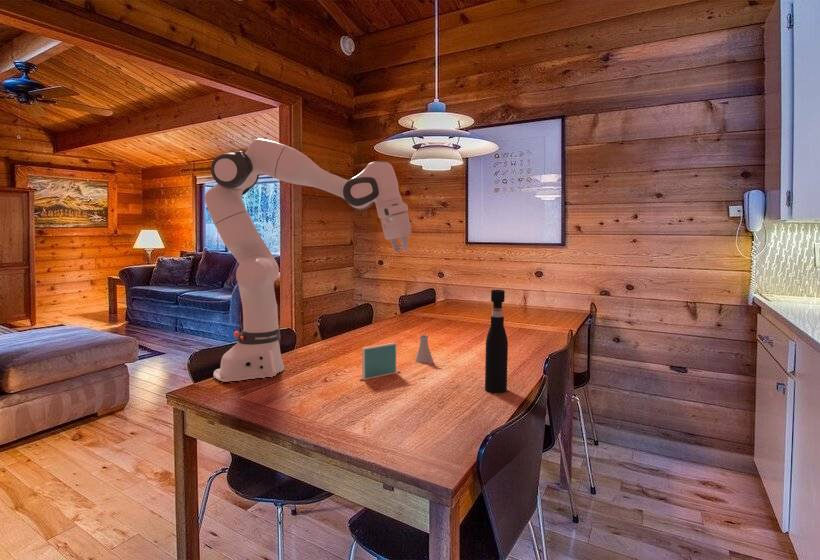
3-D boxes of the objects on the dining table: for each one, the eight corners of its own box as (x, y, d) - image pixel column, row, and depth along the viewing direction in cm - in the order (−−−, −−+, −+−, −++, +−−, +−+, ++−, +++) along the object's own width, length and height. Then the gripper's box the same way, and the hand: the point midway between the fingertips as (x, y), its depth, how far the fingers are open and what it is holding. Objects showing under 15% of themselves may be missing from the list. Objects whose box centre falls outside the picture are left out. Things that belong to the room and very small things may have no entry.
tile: (364, 380, 146) (363, 348, 145) (362, 379, 147) (361, 347, 146) (396, 373, 153) (396, 343, 152) (394, 372, 154) (394, 342, 153)
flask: (432, 367, 163) (432, 338, 162) (411, 365, 165) (411, 337, 164) (435, 361, 171) (435, 334, 169) (415, 360, 172) (415, 333, 171)
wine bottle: (502, 395, 136) (504, 292, 133) (481, 391, 140) (483, 291, 136) (509, 388, 142) (512, 290, 138) (489, 384, 145) (491, 288, 142)
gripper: (374, 215, 163) (384, 254, 165) (390, 209, 144) (401, 252, 145) (391, 211, 165) (401, 249, 167) (409, 204, 146) (420, 247, 147)
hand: (401, 251), depth 156 cm, fingers open, 8 cm apart
